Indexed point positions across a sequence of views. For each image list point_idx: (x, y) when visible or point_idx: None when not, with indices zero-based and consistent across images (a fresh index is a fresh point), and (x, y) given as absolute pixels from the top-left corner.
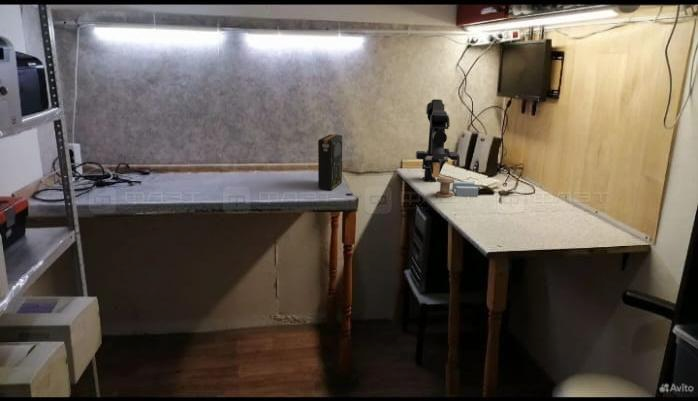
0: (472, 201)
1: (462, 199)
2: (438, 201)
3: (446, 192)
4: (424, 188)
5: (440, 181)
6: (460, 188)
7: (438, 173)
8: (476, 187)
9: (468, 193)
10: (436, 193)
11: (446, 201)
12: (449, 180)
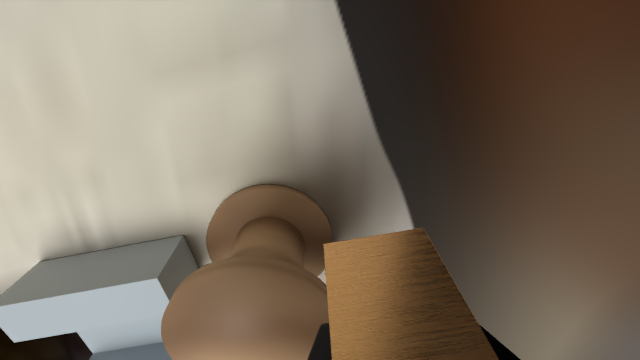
0: (31, 140)
1: (121, 171)
2: (302, 65)
3: (249, 229)
4: None
5: (301, 277)
6: (131, 280)
7: (342, 294)
8: (9, 325)
9: (89, 264)
10: (327, 228)
11: (235, 83)
12: (207, 320)
